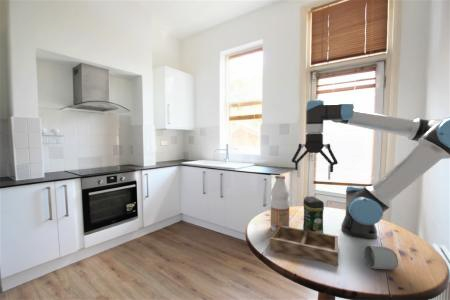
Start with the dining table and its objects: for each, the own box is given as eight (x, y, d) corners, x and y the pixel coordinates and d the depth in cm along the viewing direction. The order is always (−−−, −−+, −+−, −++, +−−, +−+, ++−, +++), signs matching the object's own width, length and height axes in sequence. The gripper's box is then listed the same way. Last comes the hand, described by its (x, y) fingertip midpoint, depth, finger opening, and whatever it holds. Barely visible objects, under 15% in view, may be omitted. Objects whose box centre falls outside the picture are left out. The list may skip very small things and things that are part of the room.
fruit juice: (267, 230, 111) (267, 176, 110) (274, 224, 119) (275, 173, 117) (285, 234, 106) (285, 178, 104) (291, 228, 113) (292, 175, 112)
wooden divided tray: (337, 247, 93) (338, 235, 93) (338, 265, 80) (338, 252, 80) (278, 235, 105) (278, 225, 105) (269, 249, 92) (270, 238, 91)
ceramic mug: (399, 274, 75) (400, 252, 74) (374, 273, 76) (375, 251, 75) (380, 258, 85) (381, 238, 85) (358, 257, 86) (359, 238, 86)
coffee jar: (300, 231, 109) (301, 195, 108) (315, 230, 110) (316, 194, 109) (309, 240, 100) (310, 200, 99) (326, 239, 100) (326, 200, 99)
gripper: (344, 133, 100) (342, 178, 101) (289, 133, 111) (288, 174, 113) (344, 133, 93) (343, 181, 94) (285, 133, 105) (285, 177, 106)
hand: (313, 177), depth 103 cm, fingers open, 13 cm apart
